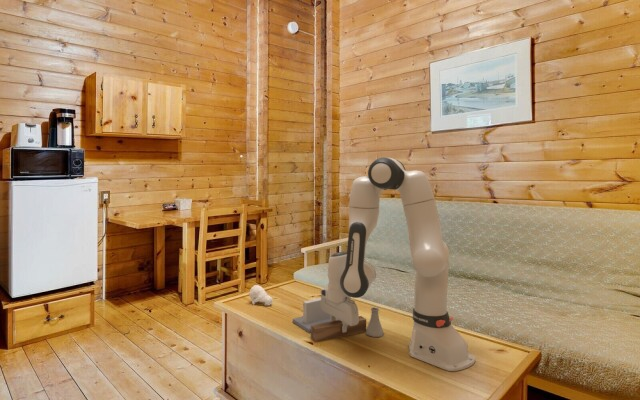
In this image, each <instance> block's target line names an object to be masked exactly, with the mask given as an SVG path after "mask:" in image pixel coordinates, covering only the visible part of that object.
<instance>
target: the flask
mask: <svg viewBox="0 0 640 400" xmlns="http://www.w3.org/2000/svg"><path fill="white" fill-rule="evenodd" d="M370 311H371V314H370V319H369V322H368V325H367V326H366V332H365V335H366V336H369V337H374V338H376V337H377V338H381V337H382V336H384V335H385V333H384V330H383V327H382V323H381V321H380V316H379V311H380V308H379V307H376V306H374V307H370Z"/></svg>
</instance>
